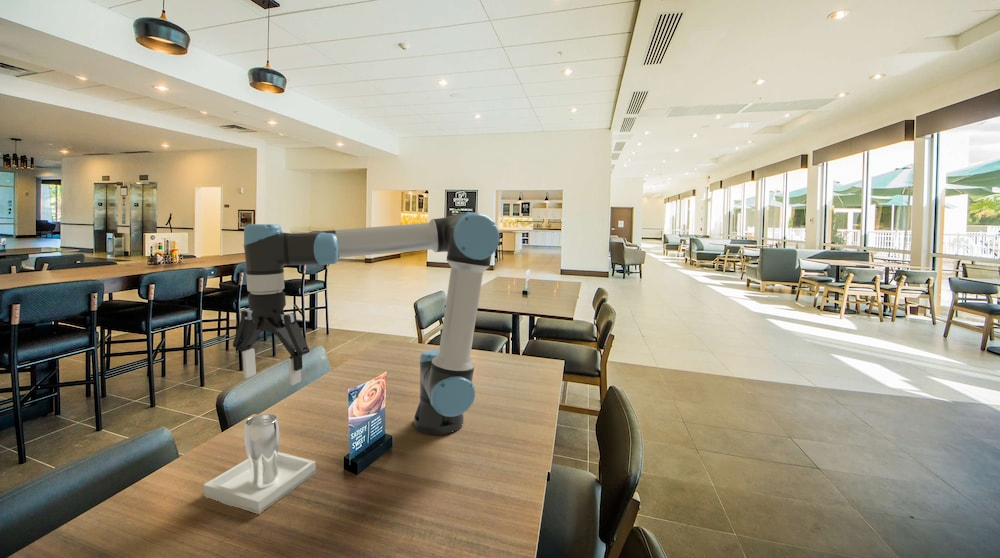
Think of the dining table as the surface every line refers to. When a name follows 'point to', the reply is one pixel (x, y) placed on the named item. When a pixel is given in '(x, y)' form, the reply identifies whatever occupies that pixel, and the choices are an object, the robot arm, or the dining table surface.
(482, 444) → the dining table surface
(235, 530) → the dining table surface
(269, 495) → the tray
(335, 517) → the dining table surface
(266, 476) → the beer glass
